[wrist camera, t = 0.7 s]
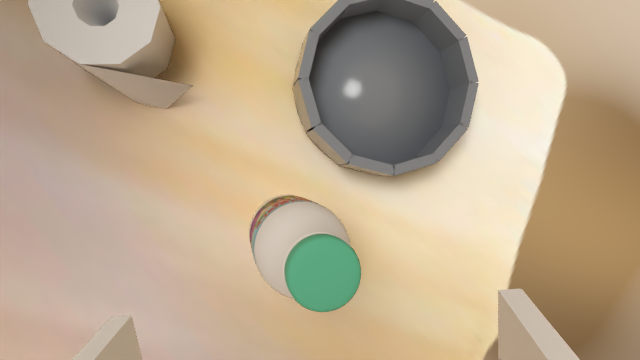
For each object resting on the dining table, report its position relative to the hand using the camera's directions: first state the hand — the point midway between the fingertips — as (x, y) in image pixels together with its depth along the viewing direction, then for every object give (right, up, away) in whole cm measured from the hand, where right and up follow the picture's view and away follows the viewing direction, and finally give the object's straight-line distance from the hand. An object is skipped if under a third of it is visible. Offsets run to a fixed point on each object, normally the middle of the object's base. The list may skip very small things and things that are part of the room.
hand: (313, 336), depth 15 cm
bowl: (+6, +15, +31) cm, 35 cm away
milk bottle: (-3, 0, +30) cm, 30 cm away
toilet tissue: (-18, +18, +27) cm, 37 cm away
